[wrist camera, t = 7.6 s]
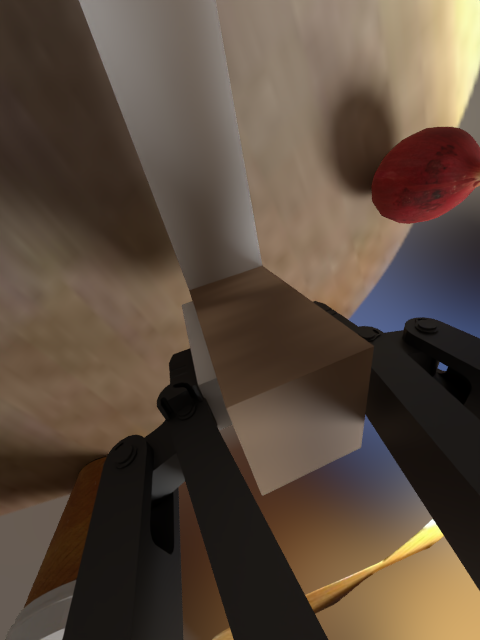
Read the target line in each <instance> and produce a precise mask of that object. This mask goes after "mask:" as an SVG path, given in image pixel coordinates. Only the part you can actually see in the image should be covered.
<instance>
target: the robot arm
mask: <svg viewBox="0 0 480 640" xmlns="http://www.w3.org/2000/svg"><path fill="white" fill-rule="evenodd" d="M313 303H315V304H316V305H318V306H319V307H320V308H322V309H323V310H325V311H326V312H327V313H329V314H330V315H332V316H333V317H334V318H336V319H337V320H338V321H340V322H341V323H343V324H344V325H345V326H347V327H348V328H350V329H351V330H352V331H354V332H355V333H357V334H358V335H359V336H361V337H362V338H364V339H365V340H366V341H368V342H369V343H371V344H372V345H373V346H374V350H373V358H372V365H371V373H370V381H369V389H368V396H367V404H366V412H365V414H366V416H367V417H368V419H369V421H370V422H371V423H372V425H373V427H374V428H375V430H376V431H377V433H378V434H379V436H380V438H381V439H382V441H383V442H384V444H385V445H386V447H387V448H388V450H389V451H390V453H391V455H392V456H393V458H394V459H395V461H396V462H397V464H398V465H399V467H400V468H401V470H402V471H403V473H404V475H405V476H406V478H407V479H408V481H409V482H410V484H411V485H412V487H413V488H414V490H415V492H416V493H417V495H418V496H419V498H420V499H421V501H422V502H423V504H424V506H425V507H426V509H427V510H428V512H429V513H430V515H431V516H432V518H433V519H434V521H435V523H436V524H437V526H438V527H439V529H440V530H441V532H442V533H443V535H444V536H445V538H446V539H447V541H448V542H449V544H450V545H451V547H452V549H453V550H454V552H455V553H456V554H457V556H458V558H459V560H460V561H461V563H462V564H463V565H464V567H465V569H466V570H467V572H468V573H469V575H470V576H471V578H472V580H473V581H474V583H475V584H476V586H477V587H478V589H479V590H480V339H479V338H477V337H475V336H473V335H470V334H468V333H466V332H464V331H461V330H459V329H457V328H454V327H452V326H450V325H448V324H445V323H443V322H441V321H438V320H435V319H431V318H413V319H410V320H408V321H407V322H406V323H405V327H404V330H402V331H395V332H387V333H383V332H382V331H380V330H378V329H376V328H373V327H368V326H361V327H358V326H357V325H355V324H354V323H352V322H351V321H349V320H348V319H346V318H345V317H343V316H342V315H340V314H339V313H337V312H336V311H334V310H332V309H331V308H330V307H329V306H327V305H326V304H323V303H320V302H317V301H314V302H313ZM182 309H183V314H184V319H185V324H186V329H187V334H188V339H189V343H190V349H187V350H184V351H182V352H179V353H176V354H174V355H173V356H172V358H171V360H170V362H169V371H170V385H168V386H167V387H165V388H164V390H163V391H162V392H161V393H160V395H159V397H158V399H157V407H158V409H159V410H160V412H161V413H162V415H163V416H164V418H165V419H166V420H165V421H164V422H163V424H162V425H161V426H159V427H158V428H157V429H156V430H154V431H153V432H152V433H150V434H149V435H148V436H146V437H145V438H143V436H140V435H132V436H128V437H126V438H124V439H123V440H121V441H120V442H119V443H117V444H116V445H115V446H114V447H113V448H112V450H111V451H110V452H109V454H108V455H107V457H106V460H105V462H104V465H103V469H102V473H101V478H100V482H99V486H98V490H97V495H96V499H95V503H94V507H93V512H92V516H91V520H90V524H89V529H88V533H87V537H86V541H85V546H84V550H83V554H82V558H81V563H80V567H79V571H78V575H77V579H76V584H75V588H74V592H73V596H72V601H71V605H70V609H69V613H68V618H67V622H66V626H65V630H64V635H63V639H62V640H183V616H182V584H181V553H180V525H179V523H180V522H179V491H178V487H179V486H180V485H181V484H182V483H183V482H184V481H185V482H186V485H187V488H188V491H189V495H190V498H191V501H192V504H193V508H194V511H195V514H196V518H197V521H198V524H199V527H200V530H201V534H202V537H203V541H204V544H205V547H206V550H207V554H208V557H209V560H210V563H211V567H212V570H213V573H214V577H215V580H216V583H217V586H218V589H219V593H220V596H221V599H222V602H223V606H224V609H225V613H226V616H227V619H228V622H229V626H230V629H231V632H232V635H233V639H234V640H328V638H327V636H326V634H325V633H324V631H323V629H322V627H321V625H320V623H319V621H318V619H317V617H316V615H315V613H314V611H313V610H312V608H311V606H310V604H309V602H308V600H307V598H306V596H305V595H304V592H303V591H302V589H301V587H300V585H299V583H298V581H297V579H296V577H295V575H294V573H293V571H292V569H291V568H290V566H289V564H288V562H287V560H286V558H285V556H284V554H283V552H282V550H281V548H280V547H279V545H278V543H277V541H276V539H275V537H274V535H273V533H272V531H271V529H270V528H269V526H268V524H267V522H266V520H265V518H264V516H263V514H262V512H261V510H260V508H259V506H258V505H257V503H256V501H255V499H254V497H253V495H252V493H251V491H250V489H249V488H248V486H247V484H246V482H245V480H244V478H243V476H242V474H241V472H240V470H239V468H238V466H237V464H236V463H235V461H234V459H233V457H232V455H231V453H230V451H229V449H228V447H227V445H226V443H225V442H224V440H223V438H222V436H221V434H220V432H219V430H221V429H224V428H226V427H228V426H231V425H233V424H232V421H231V419H230V416H229V414H228V412H227V409H226V406H225V403H224V400H223V397H222V393H221V390H220V387H219V384H218V381H217V377H216V374H215V371H214V368H213V365H212V361H211V358H210V355H209V352H208V349H207V345H206V342H205V339H204V336H203V333H202V329H201V326H200V323H199V320H198V316H197V313H196V310H195V307H194V304H193V301H192V302H189V303H186V304H183V305H182ZM439 362H441V363H443V364H445V365H446V366H448V369H447V371H442V370H440V369H438V365H439ZM218 428H219V430H218Z"/></svg>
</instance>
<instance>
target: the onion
mask: <svg viewBox="0 0 480 640" xmlns="http://www.w3.org/2000/svg"><path fill="white" fill-rule="evenodd" d="M477 186H480V147H479V145H478V144H477V143H476V141H475V140H474V139H473V137H472V136H471V135H470V134H468V133H467V132H466V131H464V130H462V129H460V128H454V127H434V128H426V129H424V130H422V131H419V132H417V133H415V134H413V135H411V136H409V137H407V138H405V139H403V140H402V141H401V142H400V143H398V144H397V145H396V146H395V147H394V148H393V149H392V150H391V151H390V152H389V153H388V154H387V155H386V156H385V157H384V158H383V160H382V162H381V163H380V165H379V167H378V169H377V170H376V172H375V174H374V178H373V182H372V187H371V188H372V202H373V203H374V205H375V206H376V208H377V209H378V211H379V212H380V214H381V215H382V216H384V217H386V218H388V219H391V220H393V221H396V222H398V223H407V224H410V223H416V222H422V221H428V220H431V219H434V218H437V217H439V216H441V215H443V214H445V213H446V212H448V211H449V210H451V209H452V208H454V207H455V206H457V205H458V204H460V203H461V202H462V201H463V200H464V199H465V198H466V197H467V196H468V195H469V194H470V193H471V192H472V191H473V190H474V189H475V188H476V187H477Z"/></svg>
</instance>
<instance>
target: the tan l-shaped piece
mask: <svg viewBox="0 0 480 640" xmlns="http://www.w3.org/2000/svg"><path fill="white" fill-rule="evenodd" d="M79 2H80V5H81V7H82V10H83V12H84V15H85V18H86V20H87V23H88V26H89V28H90V31H91V33H92V36H93V39H94V41H95V44H96V47H97V49H98V52H99V54H100V57H101V60H102V62H103V65H104V68H105V70H106V73H107V75H108V78H109V81H110V83H111V86H112V89H113V91H114V94H115V96H116V99H117V102H118V104H119V107H120V110H121V112H122V115H123V117H124V120H125V123H126V125H127V128H128V131H129V133H130V136H131V138H132V141H133V144H134V146H135V149H136V152H137V154H138V157H139V159H140V162H141V165H142V167H143V170H144V173H145V175H146V178H147V180H148V183H149V186H150V188H151V191H152V194H153V196H154V199H155V201H156V204H157V207H158V209H159V212H160V215H161V217H162V220H163V222H164V225H165V228H166V230H167V233H168V236H169V238H170V241H171V243H172V246H173V249H174V251H175V254H176V257H177V259H178V262H179V264H180V267H181V270H182V272H183V275H184V278H185V280H186V283H187V285H188V288H189V291H190V294H191V297H192V300H193V304H194V307H195V310H196V313H197V316H198V320H199V323H200V326H201V329H202V333H203V336H204V339H205V342H206V345H207V349H208V352H209V355H210V358H211V361H212V365H213V368H214V371H215V374H216V377H217V381H218V384H219V387H220V390H221V393H222V397H223V400H224V403H225V406H226V409H227V412H228V414H229V416H230V419H231V421H232V424H233V426H234V429H235V431H236V433H237V436H238V438H239V441H240V443H241V445H242V448H243V450H244V453H245V455H246V458H247V460H248V462H249V465H250V467H251V470H252V472H253V475H254V477H255V479H256V482H257V484H258V487H259V489H260V492H261V494H262V496H263V495H265V494H267V493H269V492H271V491H273V490H275V489H277V488H279V487H281V486H283V485H285V484H287V483H289V482H291V481H293V480H295V479H297V478H300V477H302V476H304V475H306V474H308V473H310V472H312V471H314V470H316V469H318V468H320V467H322V466H324V465H326V464H328V463H330V462H332V461H334V460H336V459H338V458H340V457H342V456H345V455H347V454H349V453H351V452H353V451H355V450H357V449H359V448H361V442H362V435H363V427H364V420H365V412H366V404H367V396H368V389H369V381H370V373H371V365H372V358H373V350H374V346H373V345H372V344H371V343H369V342H368V341H366V340H365V339H364V338H362V337H361V336H359V335H358V334H357V333H355V332H354V331H352V330H351V329H350V328H348V327H347V326H345V325H344V324H343V323H341V322H340V321H338V320H337V319H336V318H334V317H333V316H332V315H330V314H329V313H327V312H326V311H325V310H323V309H322V308H320V307H319V306H318V305H316V304H315V303H313V302H312V301H311V300H309V299H308V298H306V297H305V296H304V295H302V294H301V293H300V292H298V291H297V290H295V289H294V288H293V287H291V286H290V285H288V284H287V283H286V282H284V281H283V280H281V279H280V278H279V277H277V276H276V275H274V274H273V273H272V272H270V271H269V270H267V269H266V268H265V267H263V266H262V261H261V256H260V250H259V244H258V239H257V233H256V227H255V221H254V216H253V210H252V204H251V199H250V193H249V187H248V182H247V176H246V170H245V165H244V159H243V153H242V147H241V142H240V136H239V130H238V125H237V119H236V113H235V108H234V102H233V96H232V91H231V85H230V79H229V73H228V68H227V62H226V56H225V51H224V45H223V39H222V34H221V28H220V22H219V16H218V11H217V5H216V0H79Z"/></svg>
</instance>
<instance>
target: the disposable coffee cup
mask: <svg viewBox="0 0 480 640" xmlns="http://www.w3.org/2000/svg"><path fill="white" fill-rule="evenodd" d="M105 460H106V457H104V458H100V459H98V460H95V461H93V462H91V463H89V464H88V465H86V466H85V467H84V468H83V469H82V470H81V471H80V473H79V475H78V478H77V480H76V483H75V485H74V488H73V490H72V492H71V495H70V498H69V500H68V502H67V505H66V507H65V509H64V512H63V514H62V516H61V519H60V521H59V524H58V526H57V529H56V531H55V533H54V536H53V538H52V541H51V543H50V546H49V548H48V550H47V553H46V555H45V558H44V560H43V563H42V565H41V567H40V570H39V572H38V575H37V577H36V579H35V582H34V584H33V587H32V589H31V591H30V594H29V596H28V599H27V602H26V604H25V606H24V609H23V610H22V611H21V612H20V613H19V615H18V616H17V618H16V621H15V623H14V624H13V625H12V626H11V628H10V629H9V631H8V633H7V635H6V639H5V640H62V639H63V635H64V630H65V626H66V622H67V618H68V613H69V609H70V605H71V601H72V596H73V592H74V588H75V584H76V579H77V575H78V571H79V567H80V563H81V558H82V554H83V550H84V546H85V541H86V537H87V533H88V529H89V524H90V520H91V516H92V512H93V507H94V503H95V499H96V495H97V490H98V486H99V482H100V478H101V473H102V469H103V465H104V462H105Z"/></svg>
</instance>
